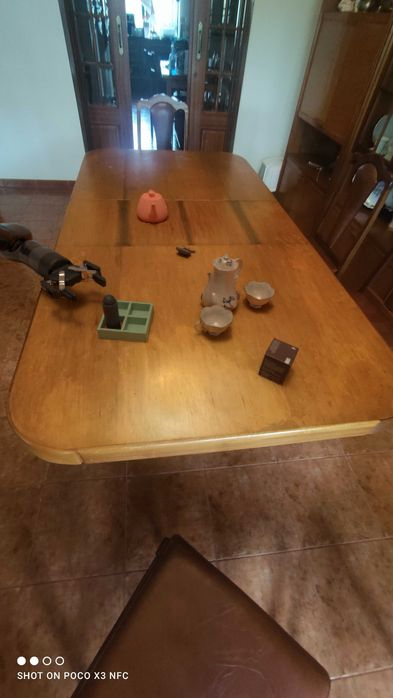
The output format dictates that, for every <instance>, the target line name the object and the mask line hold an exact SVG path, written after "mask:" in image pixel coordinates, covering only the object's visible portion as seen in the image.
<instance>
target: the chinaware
mask: <svg viewBox="0 0 393 698" xmlns="http://www.w3.org/2000/svg"><path fill="white" fill-rule="evenodd" d="M212 265H213V273H212V272H207V273H206V275H207V277H208V278H207V282H206V285H205V288H204V290H203V292H202V293H201V295H200V300H201V305H202V306H203V307H202V308H201V310H200V313H199V320H197V321H196V322H195V323H194V325H193V327H194V330H195V331H197V332H200V331H202V330H203V332H204V333H208V334H209V335H210V336H216V337H218V336H219V335H221V333H223V332H225V331H226V330H227V329H228V327H230V326H231V325H232V324H233V319H234V312H233V311H234V309H236V308H237V306H238V302H239V301H240V298H241V297H240V296H241V295H240V293H239V292H238V290H237V288H236V285H237V283H238V279H237V278H238V277H239V276H240V273H241V271H242V269H243V260H242V259H241V258H239V257H236V258H231V257H230V255H229V254H228V253H225V254H224V255H223V256H218V257H217V258H214V259H213V260H212ZM237 268H238V269H237ZM236 270H237V271H236ZM235 272H236V273H235ZM243 291H244V292H245V296H246V299H247V302H249V307H252V308H254V309H261V308H262V306H265V305H266V304H268V302H269V301H270V300H271V298H273V297H274V295H276V290H275V289H274V288H273V287H272V285H271V284H269V283H268V282H266V281H257V280H250V281H249V282H248V283H246V284H245V285H244V286H243ZM198 324H200V325H201V324H202V326H203V327H202V328H199V329H198V328H196V327H197V325H198Z"/></svg>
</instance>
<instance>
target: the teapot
mask: <svg viewBox="0 0 393 698" xmlns="http://www.w3.org/2000/svg"><path fill="white" fill-rule="evenodd" d="M168 211H169V210H168V206H167V203H166V201H165V199H164V198H163V196H162V195H161V193H157V192H155V191H154V190H153V189H149V190H148V192H145V193H143V194H141V196H140V198H139V200H138V202H137V206H136V215H137V216H138V218H139V219H140V220H141V221H142V222H145V223H161V222H163V221H165V219H167V217H168V214H169V212H168Z"/></svg>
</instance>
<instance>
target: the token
mask: <svg viewBox="0 0 393 698" xmlns="http://www.w3.org/2000/svg"><path fill="white" fill-rule="evenodd" d="M117 300H118V299H116V297H115V296H114V295H112V294H105V295H104V296H103V298H102V301H101V307H102V311H103V313H104V317H105V322H106V328H107V329H117V330H121V324H120V317H119V310H118V304H117Z"/></svg>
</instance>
